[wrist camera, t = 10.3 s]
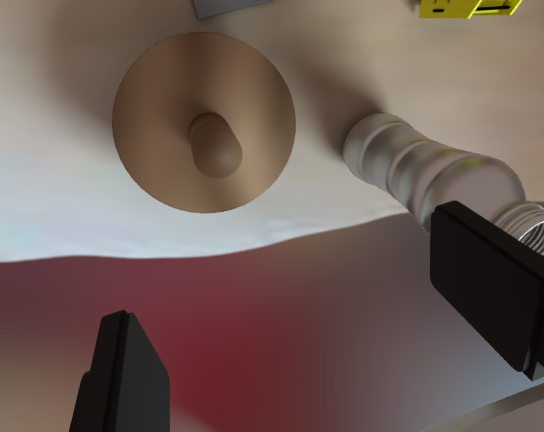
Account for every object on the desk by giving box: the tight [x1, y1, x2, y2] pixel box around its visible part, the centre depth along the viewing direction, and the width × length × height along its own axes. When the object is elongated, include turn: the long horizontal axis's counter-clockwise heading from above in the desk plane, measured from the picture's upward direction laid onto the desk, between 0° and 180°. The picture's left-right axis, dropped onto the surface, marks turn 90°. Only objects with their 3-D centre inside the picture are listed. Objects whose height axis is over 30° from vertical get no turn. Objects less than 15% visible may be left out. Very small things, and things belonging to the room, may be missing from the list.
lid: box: [112, 32, 296, 213], centre depth 25 cm, size 13×13×6 cm
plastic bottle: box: [343, 113, 544, 256], centre depth 29 cm, size 6×7×20 cm
